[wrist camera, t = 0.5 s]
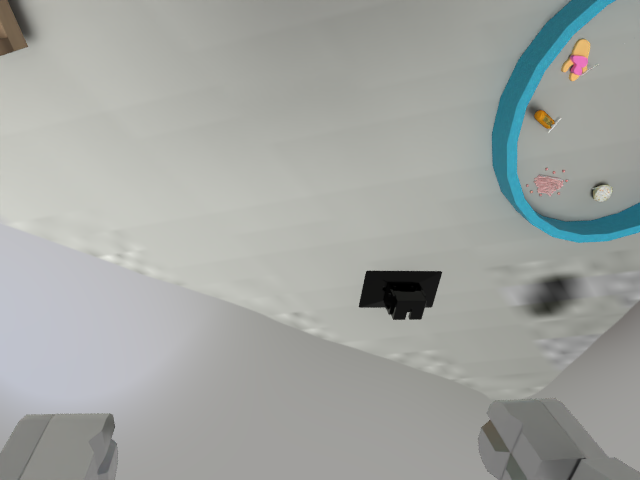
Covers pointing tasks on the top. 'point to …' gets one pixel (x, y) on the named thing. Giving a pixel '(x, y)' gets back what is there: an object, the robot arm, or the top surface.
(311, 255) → the top surface
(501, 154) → the blue flat round ring
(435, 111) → the top surface
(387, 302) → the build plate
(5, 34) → the cart
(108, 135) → the top surface
